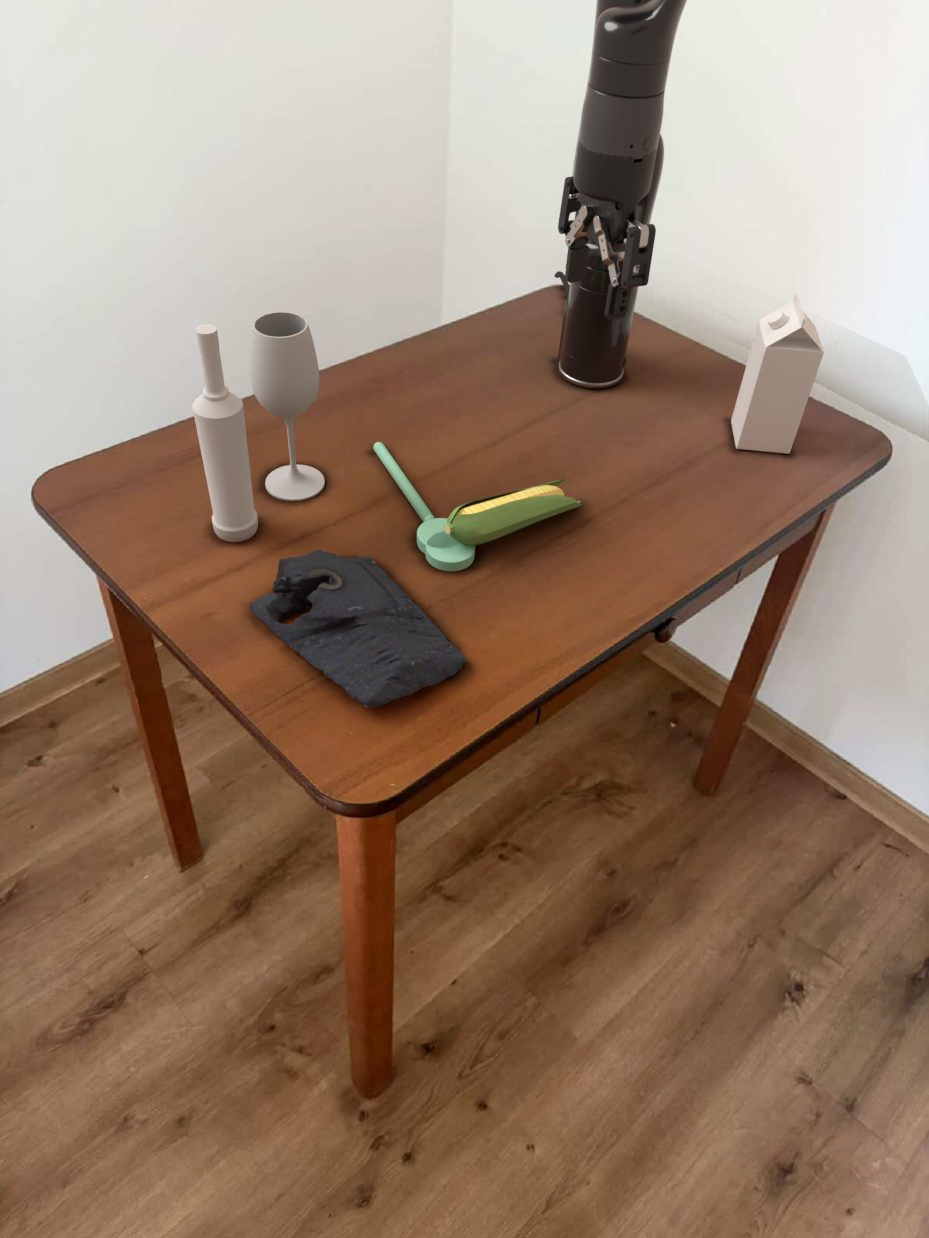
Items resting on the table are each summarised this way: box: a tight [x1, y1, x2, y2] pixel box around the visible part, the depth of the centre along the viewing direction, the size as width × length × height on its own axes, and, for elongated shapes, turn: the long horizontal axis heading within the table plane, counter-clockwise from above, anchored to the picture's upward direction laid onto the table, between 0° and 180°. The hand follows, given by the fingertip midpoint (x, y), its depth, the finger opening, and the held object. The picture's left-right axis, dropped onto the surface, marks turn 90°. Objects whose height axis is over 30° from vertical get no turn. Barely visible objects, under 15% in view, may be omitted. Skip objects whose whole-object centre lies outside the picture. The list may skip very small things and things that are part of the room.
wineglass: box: [249, 311, 326, 502], centre depth 111 cm, size 8×8×21 cm
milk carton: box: [730, 292, 825, 455], centre depth 124 cm, size 7×7×19 cm
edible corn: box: [444, 478, 583, 547], centre depth 111 cm, size 5×20×5 cm, turn 124°
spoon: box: [373, 441, 476, 572], centre depth 116 cm, size 26×6×1 cm, turn 25°
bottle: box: [191, 323, 259, 543], centre depth 103 cm, size 5×5×25 cm
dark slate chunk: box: [249, 549, 469, 709], centre depth 98 cm, size 15×22×5 cm
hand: (594, 298), depth 102 cm, fingers open, 8 cm apart
